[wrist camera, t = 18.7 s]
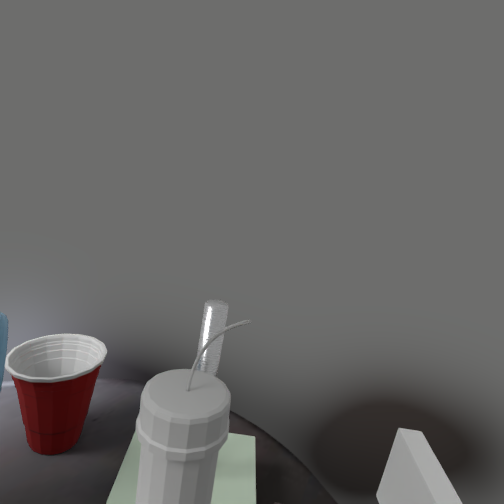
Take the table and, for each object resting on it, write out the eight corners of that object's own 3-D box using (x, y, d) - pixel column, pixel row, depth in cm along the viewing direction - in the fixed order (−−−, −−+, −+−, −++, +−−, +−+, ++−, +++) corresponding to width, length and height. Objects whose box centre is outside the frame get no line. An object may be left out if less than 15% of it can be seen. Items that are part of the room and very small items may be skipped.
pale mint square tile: (252, 561, 37) (256, 544, 37) (96, 540, 37) (98, 522, 36) (252, 450, 51) (255, 436, 50) (138, 433, 50) (139, 419, 50)
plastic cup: (36, 403, 57) (40, 323, 54) (113, 419, 56) (121, 339, 53) (-21, 460, 46) (-20, 365, 43) (73, 481, 46) (80, 385, 43)
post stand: (236, 574, 39) (285, 344, 33) (108, 557, 38) (134, 320, 32) (240, 475, 51) (276, 292, 45) (141, 461, 50) (165, 274, 44)
